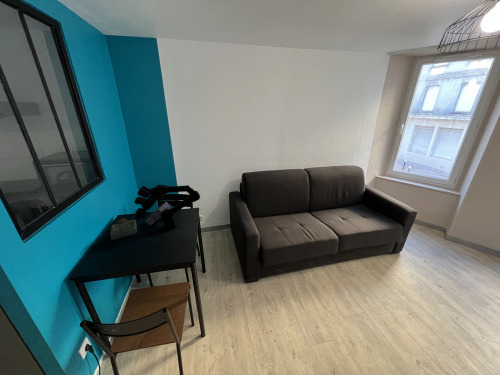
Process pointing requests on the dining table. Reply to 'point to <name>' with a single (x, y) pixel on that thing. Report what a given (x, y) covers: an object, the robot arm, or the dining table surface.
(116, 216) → the dining table surface
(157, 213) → the candy box
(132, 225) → the bin
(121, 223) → the jar
